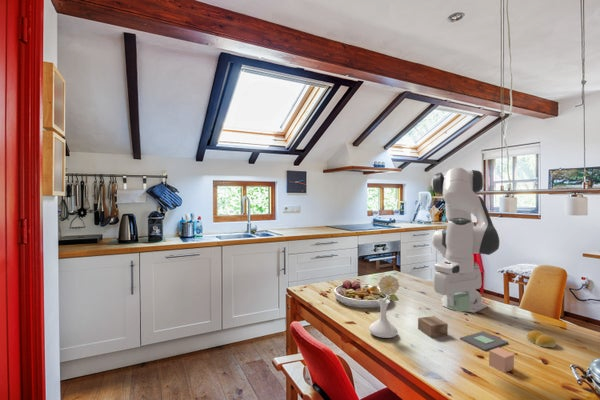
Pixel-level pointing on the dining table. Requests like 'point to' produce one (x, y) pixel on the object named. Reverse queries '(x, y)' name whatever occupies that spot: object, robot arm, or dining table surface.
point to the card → (484, 341)
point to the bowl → (359, 294)
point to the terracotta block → (501, 359)
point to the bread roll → (541, 339)
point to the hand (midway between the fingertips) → (458, 303)
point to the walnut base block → (432, 326)
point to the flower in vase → (385, 308)
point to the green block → (460, 302)
